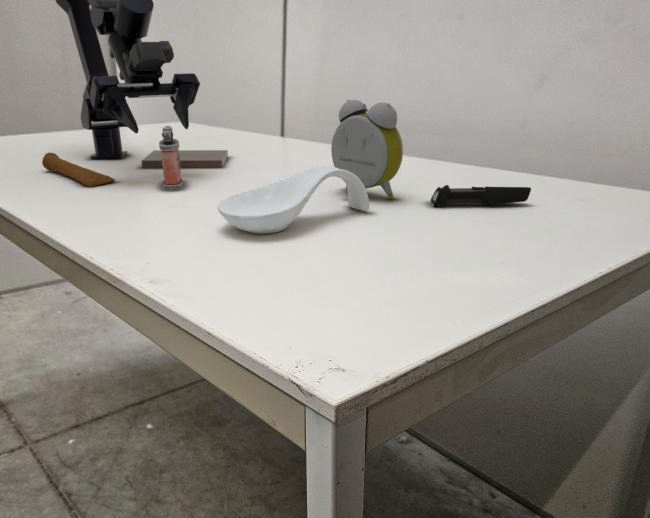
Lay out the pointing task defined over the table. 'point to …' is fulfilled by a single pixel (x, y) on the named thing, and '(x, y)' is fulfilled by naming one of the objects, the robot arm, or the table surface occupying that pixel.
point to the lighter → (170, 160)
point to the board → (190, 159)
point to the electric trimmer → (480, 195)
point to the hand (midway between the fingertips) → (162, 129)
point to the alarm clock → (368, 143)
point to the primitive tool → (74, 171)
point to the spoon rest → (286, 200)
